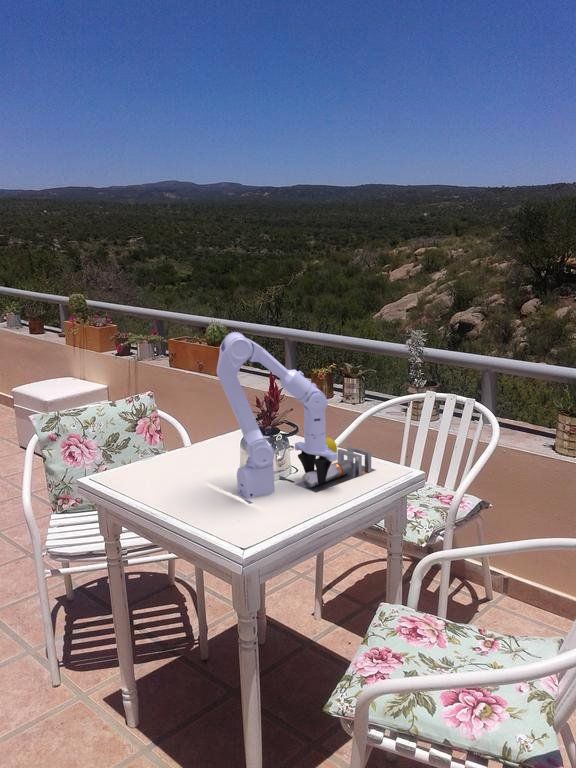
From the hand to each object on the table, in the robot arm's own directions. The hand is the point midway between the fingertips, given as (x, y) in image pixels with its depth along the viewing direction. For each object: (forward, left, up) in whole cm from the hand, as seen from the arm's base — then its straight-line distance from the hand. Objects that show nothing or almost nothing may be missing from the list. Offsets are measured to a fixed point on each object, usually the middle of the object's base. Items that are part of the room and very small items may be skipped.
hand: (316, 480), depth 179 cm
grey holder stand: (+8, +2, -2) cm, 9 cm away
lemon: (+14, +16, -3) cm, 22 cm away
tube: (+4, +1, -1) cm, 5 cm away
